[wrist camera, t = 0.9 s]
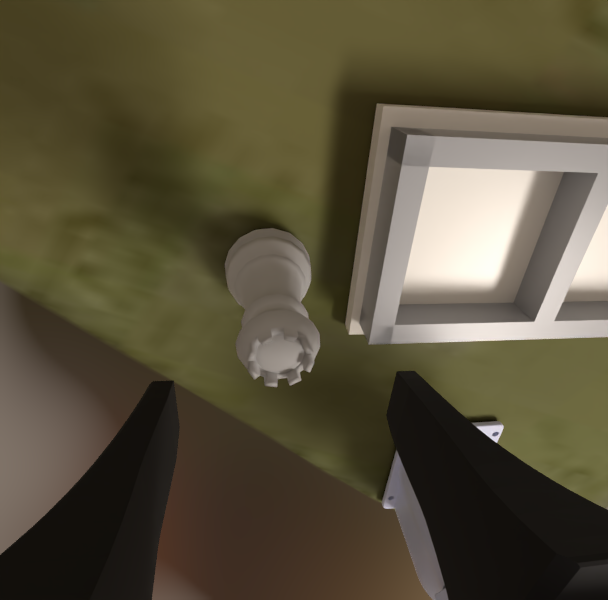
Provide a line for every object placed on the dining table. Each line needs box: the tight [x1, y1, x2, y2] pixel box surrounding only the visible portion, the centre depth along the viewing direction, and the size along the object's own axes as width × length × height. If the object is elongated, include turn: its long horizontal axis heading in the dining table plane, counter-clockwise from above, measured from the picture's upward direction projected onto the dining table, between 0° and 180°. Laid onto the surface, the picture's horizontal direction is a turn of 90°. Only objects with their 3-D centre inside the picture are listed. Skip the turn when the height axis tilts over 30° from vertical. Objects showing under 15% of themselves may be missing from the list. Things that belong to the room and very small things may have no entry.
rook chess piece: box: [224, 228, 320, 387], centre depth 18 cm, size 4×4×8 cm
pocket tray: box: [345, 103, 608, 344], centre depth 22 cm, size 12×21×3 cm, turn 86°
